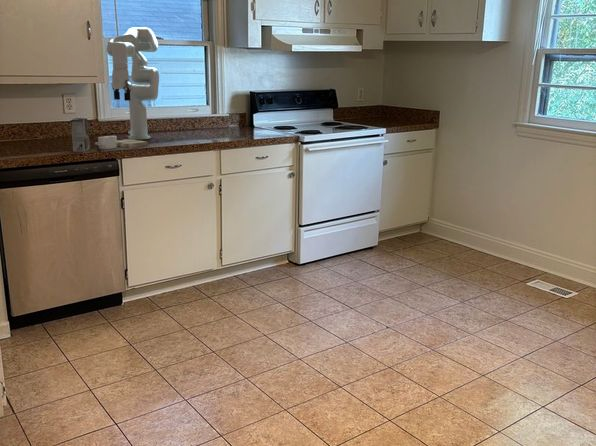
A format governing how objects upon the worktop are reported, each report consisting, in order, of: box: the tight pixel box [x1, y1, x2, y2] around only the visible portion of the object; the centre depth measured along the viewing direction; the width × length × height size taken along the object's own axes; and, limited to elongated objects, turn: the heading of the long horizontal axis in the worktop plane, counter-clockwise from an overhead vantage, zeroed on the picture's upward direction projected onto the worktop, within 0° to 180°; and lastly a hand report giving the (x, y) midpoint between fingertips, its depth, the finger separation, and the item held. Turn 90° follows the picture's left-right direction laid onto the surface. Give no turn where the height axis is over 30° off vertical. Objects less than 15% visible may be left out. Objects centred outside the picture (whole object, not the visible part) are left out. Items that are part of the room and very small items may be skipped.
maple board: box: [117, 138, 149, 149], centre depth 332 cm, size 16×12×2 cm
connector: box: [94, 135, 118, 150], centre depth 320 cm, size 4×12×6 cm, turn 142°
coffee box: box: [70, 117, 91, 153], centre depth 310 cm, size 9×6×16 cm
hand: (122, 100), depth 320 cm, fingers open, 9 cm apart
